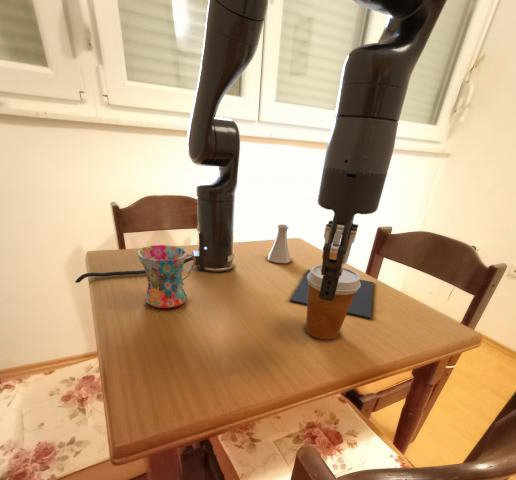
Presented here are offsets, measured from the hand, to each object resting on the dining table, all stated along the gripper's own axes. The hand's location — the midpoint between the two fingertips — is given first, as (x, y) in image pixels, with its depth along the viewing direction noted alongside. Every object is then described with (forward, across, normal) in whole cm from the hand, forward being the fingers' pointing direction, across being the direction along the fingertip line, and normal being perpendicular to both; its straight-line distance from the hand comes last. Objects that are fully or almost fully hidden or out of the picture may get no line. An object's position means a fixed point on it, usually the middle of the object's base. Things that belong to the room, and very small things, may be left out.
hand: (326, 298), depth 47 cm
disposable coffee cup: (+12, -10, 0) cm, 15 cm away
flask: (+11, -47, -19) cm, 52 cm away
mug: (+11, -8, -32) cm, 35 cm away
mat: (+11, -31, 0) cm, 33 cm away
